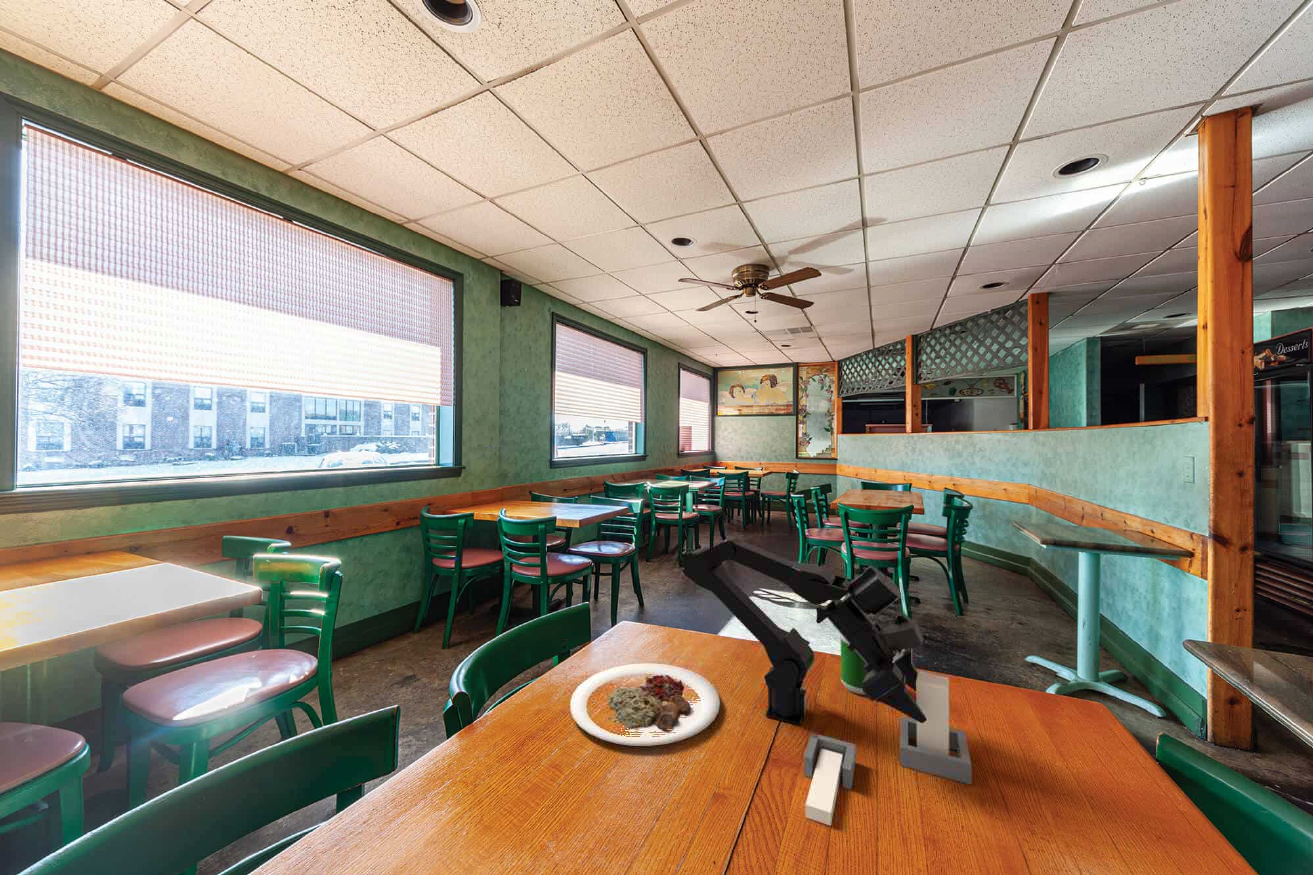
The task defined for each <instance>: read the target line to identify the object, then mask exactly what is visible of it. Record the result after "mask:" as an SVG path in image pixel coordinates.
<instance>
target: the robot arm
mask: <svg viewBox="0 0 1313 875" xmlns="http://www.w3.org/2000/svg"><path fill="white" fill-rule="evenodd" d="M728 560H729V561H730V560H731V561H733V562H735V563H737V564H740V565H742V566H744V567H747V568H748V569H750V570H751V569H752V570H754V571H755V572H757V573H760V574H763V575H765V576H767V577H770V578H771V579H774V580H776V581H778V582H781V583H783V584H784V585H786V586H787V587H788V588H789V589H790V590H791V591H792V592H793V593H794V594H795V595H796V596H799V597H800V598H802V599H803V600H804V601H806V602H808V603H810V604H811V605H816V609H815V610H816V618H815V622H816V623H817V624H821V623H822V622H823V621H824V620H826V619H827V620H829V622H830V623H831V624H832V625H833V626H834V627H835V628H836V630H837V631H838V632H839V634H840V636H841V635H842V636H843V637H844V638H845V639H846V640H847V642H848V643H849V644H848V646H847V648H848V649H849V650H850V651H851V652H852V651H853V650H855V651H856V652H857V653H858V654H859V656H860V657H861V658H862V659H863V660H864V662H865V663H866V665H865V667H864V668H865V669H866V670H867V671H868V672H869V673H868V674H866V676H865V679H864V681H863V692H864V693H865V694H866V695H865V696H866V697H867V698H868V699H869V701H871V702H874V701H875V702H877V703H882V704H885V705H886V706H888V707H891V708H892V709H894V710H896V711H898V712H900V713H902V714H904V715H906V716H907V717H908V718H910V719H914V720H916V721H918V722H920V723H924V722H925V721H926V720H927V719H926V717H925V715H924V714H923V712H922V711H921V709H920V708H919V706H918V705H917V703H916V700H915V699H914V698H913V696H912V694H910V692H909V691H908V689H907V686H908V687H909V688H910V689H912V690H914V691H915V692H916V680H917V676H918V671H919V670H917V668H916V666H915V664H914V662H913V649H918V648H920V647H921V646H923V640H924V637H923V635H922V633H921V630H920V628H919V623H917V622H916V620H915V619H914V618H910V617H909V616H908V615H907V614H906V613H905V612H904V613H899V614H896V615H895V619H894V620H895V621H894V623H890V625H888V626H883V625H882V624H881V622H879V621H877V620H874V621H872V620H871V619H870V618H869V617H868V616H867V615H870V614H871V615H874V616H877V615H878V614H880V613H881V612H882V611H884V610H885V609H886V608H888V607H890V606H891V605H892V604H893V603H895V602H896V601H898V600H899V599H900V598H902V593H901V591H900V588H898V586H897V585H896V584H895V582H894V581H893V580H892V579H891V578H890V577H889V576H888V575H886V574H884V573H883V572H882V571H880V570H878V569H877V568H876V567H874V565H873V564H872V565H869V566H868V567H866V568H865V570H864V571H863V572H862V573H861V574H860V575H858V577H856V578H855V579H853V578H849V577H846V576H841V575H838V574H836V573H834V572H833V570H831V569H830V568H827V567H826V566H821V565H817V564H812V563H806V562H797V561H791V560H789V559H787V558H784V557H782V556H780V555H778V554H774V553H772V552H770V551H768V550H765V549H763V548H760V547H758V546H755V545H752V544H750V543H747V542H745V541H744V540H741V539H740V538H738V537H736V536H731V537H729V538H726V539H724V540H722V541H721V542H720V543H718V544H716V545H715V546H712V547H711V548H710V547H700V548H698V549H695V550H693V551H690V552H688V553H686V554H685V555H684V556H683V557H682V559H681V572H682V574H683V576H684V577H686V578H687V579H688V580H690V581H691V582H692V583H694V584H695V585H696V586H697V587H700V588H702V589H704V590H706V591H708V592H711V593H712V594H713V595H714V596H715V597H716V598H717V599H718V600H719V601H720V602H721V603H722V604H723V605H724V606H725V607H726V608H727V610H728V611H730V613H731V614H732V615H733V616H734V617H736V619H737V620H738V621H739V622H740V623H741V625H743V626H744V627H745V628H746V630H747V631H749V633H751V634H752V636H753V637H754V638H755V639H757V641H758V642H759V643H760V644H761V645H762V647H763V648H764V650H765V653H766V656H767V658H768V661H769V662H770V664H771V665H772V666H771V667H770V669H769V670H768V671H767V672H766V673H765V675H764V677H763V678H764V681H765V683H766V687H767V696H768V697H767V700H768V701H767V702H768V703H767V704H768V705H767V710H766V711H765V716H766V717H768V718H771V719H775V720H779V721H782V722H786V723H790V724H792V725H793V724H794V725H801V723H802V720H803V718H804V717H806V714H807V711H808V710H807V704H808V702H807V691H806V689H804V680H805V678H806V677H807V675H808V674H809V672H810V671H811V670H812V667H813V665H814V663H815V652H814V651H813V649H812V647H811V646H810V644H811V643H810V641H809V640H807V639H805V638H804V637H802V635H801V634H800V633H799V631H798V630H797V629H795V627H792V628H791V629H790V631H787V630H785V629H782V628H781V627H779V626H778V625H777V624H776V623H775V622H774V621H773V620H772V619H771V618H770V617H769V616H768V615H767V614H766V613H765V612H764V611H763V610H762V609H761V608H760V606H759V605H757V604H756V603H755V602H754V600H752V599H751V598H750V596H748V595H747V594H746V593H745V592H744V591H743V590H742V589H741V588H740V587H739V586H738V585H737V584H736V583H735V582H734V581H733V580H732V579H731V578H730V577H729V575H728V573H727V571H726V569H725V566H724V563H723V562H726V561H728ZM845 596H846V597H845ZM828 601H830V602H828ZM827 602H828V603H827ZM826 603H827V604H826ZM823 604H826V605H823ZM873 669H874V670H873ZM870 671H871V672H870Z"/></svg>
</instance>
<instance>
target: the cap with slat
mask: <svg viewBox="0 0 1313 875" xmlns="http://www.w3.org/2000/svg"><path fill="white" fill-rule="evenodd" d="M805 749H806V750H805V752H804V755H803V769H804V770H803V775H804V776H805V777H808V778H812V780H811V783H810V787H809V790H808V794H807V797H806V801H805V806H804V807H805V818H807V819H810V820H812V821H815V822H818V823H821V824H824V825H827V826H830V827H831V826H832V821H833V816H834V812H835V807H836V802H837V796H838V791H839V786H840V782H841V776H842V788H844V789H848V790H850V791H852V787H853V782H854V781H853V780H854V775H855V770H856V769H855V767H856V744H854V743H851V742H847V741H843V740H839V739H838V738H837V739H836V738H832V737H829V736H824V735H821V734H817V733H814V732H811V734H810V736H809V740H808V743H807V745H806V748H805Z"/></svg>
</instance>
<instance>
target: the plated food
mask: <svg viewBox="0 0 1313 875" xmlns="http://www.w3.org/2000/svg"><path fill="white" fill-rule="evenodd" d="M643 674H653V675H656V676H652V678H650V677H649V678H648V677H646V680H645V681H646V682H645V683H644V685H642V686H638V687H631V688H627V687H620V688H618V689H616V690H615V692H614V693H613V695H609V696H610V697H609V699H608V700H609V701H608V703H607V704H608V705H610V706H611V707H610V709H611V710H614V711H616V714H615V715H616V716H612V717H610V718H607V719H611V718H613V717H615V718H616V719H618V720H613V722H616V721H619V722H620V723H621V724H622V725H624V726H623V727H627V729H630V730H625V731H629V732H635V731H638V732H643V733H630V735H625V736H624V735H622V736H621V735H617V734H613V733H610V732H608V731H606V730H604V729H602V728H600V727H599V726H597V725H596V724H595V723H594V722H593V721H592V720H591V719H590V717H589V715H588V713H587V701H588V698H589V696H591V694H592V692H594V691H595V690H596V689H598V687H600V686H602V685H604V684H605V683H608V682H609V681H612V680H613V679H617V678H619V677H624V676H626V675H643ZM660 675H661V676H660ZM674 679H677V680H678V682H677V681H675V680H674ZM682 683H685V685H688V686H689V687H691V689H693V690H695V692H696V693H697V694H698V696H699V697H700V699H696V700H701V701H692V702H697V703H689V702H690V701H688V702H687V701H686V700H685V698H684V697H682V694H683V690H684V685H683V684H682ZM689 689H690V688H689ZM619 690H621V691H619ZM693 698H694V697H693ZM692 700H693V699H692ZM663 701H667V702H668V703H666V704H665V705H662V702H663ZM569 702H570V706H569V707H570V708H569V709H570V714H571V716H572V718H573V720H574V721H575V723H576V724H577V725H578V726H579V727H580V728H581V729H582V730H584V731H585V732H587V733H588V734H589V735H591V736H594V737H596V738H597V739H600V740H603V741H607V742H608V743H609V742H610V743H614V744H616V745H617V744H618V745H625V746H632V747H633V746H635V747H636V746H639V747H642V746H643V747H651V746H659V745H660V746H661V745H667V744H672V743H676V742H680V741H682V740H685V739H687V738H691V737H693V736H695V735H697V734H699V733H700V732H702V731H703V730H705V729H706V728H708V727H709V726H710V724H711V723H713V721H715V719H716V717H717V715H718V713H720V712H719V710H720V705H721V701H720V696H719V693H718V691H717V690H716V688H715V686H714V685H713V684H712V682H710V681H709V680H708V679H706V678H705V677H703V676H702V675H700V674H698V673H696V672H695V671H692V670H689V669H686V668H683V667H679V666H676V665H670V664H665V663H663V664H662V663H653V662H652V663H649V662H648V663H632V664H625V665H620V666H616V667H612V668H608V669H605V670H603V671H600V672H597V673H595V674H593V675H592V676H590V677H588V678H587V679H586V680H584V681H583V682H582V683H581V684H579V685H578V686H577V688H576V689H575V690H574V691H573V694H572V696H571V699H570V701H569ZM690 704H693V705H690ZM612 707H613V708H612ZM691 711H694V712H691ZM692 713H693V714H692ZM680 715H685V716H680ZM679 717H686V718H679ZM678 719H679V720H678ZM652 725H656V726H652ZM646 727H647V728H646ZM621 729H622V728H621ZM635 729H639V730H635ZM661 729H662V730H661ZM668 729H672V730H668ZM621 731H622V730H621ZM655 731H656V732H670V731H671V732H676V733H649V732H655ZM626 734H628V733H626ZM631 734H641V735H631ZM653 734H660V735H653ZM661 734H665V735H661ZM626 736H630V737H626ZM631 736H640V737H631ZM652 736H660V737H652Z"/></svg>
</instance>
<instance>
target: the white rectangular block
mask: <svg viewBox="0 0 1313 875" xmlns="http://www.w3.org/2000/svg"><path fill="white" fill-rule="evenodd" d="M917 671H918V676H917V680H916V691H915V694H916V696H915V697H916V700H915V702H916V703H917V705H918V706H919V708H920V709H921V711H922V712H923V714H924V715H925V717H926V719H927V720H926V721H925V722H924V723H920V722H918V721H917V740H916V747H918V748H922V749H926V750H929V751H933V752H937V753H941V754H945V755H949V756H950V749H949V728H950V699H949V698H950V695H949V694H950V692H949V690H950V689H949V688H950V687H949V684H950V683H949V679H950V678H949V677H947V676H943V675H939V674H934V673H930V672H926V671H921V670H917Z"/></svg>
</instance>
